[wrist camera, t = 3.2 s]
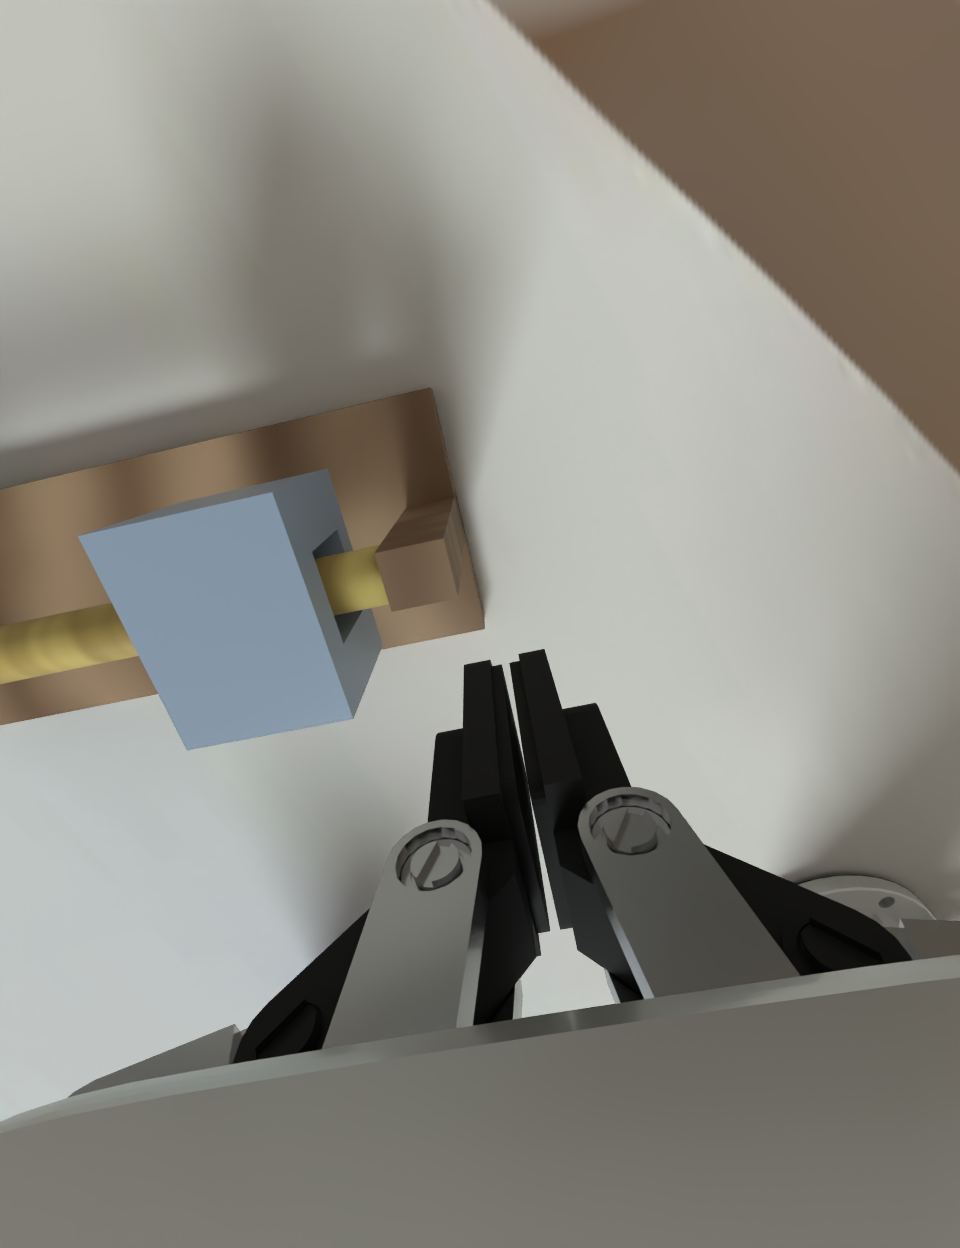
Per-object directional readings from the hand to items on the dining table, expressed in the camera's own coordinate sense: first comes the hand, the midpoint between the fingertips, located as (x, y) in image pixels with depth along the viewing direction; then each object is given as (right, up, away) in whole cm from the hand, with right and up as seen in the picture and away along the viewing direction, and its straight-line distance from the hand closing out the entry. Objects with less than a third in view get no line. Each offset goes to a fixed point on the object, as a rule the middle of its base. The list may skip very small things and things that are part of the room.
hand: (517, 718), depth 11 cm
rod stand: (-14, +4, +13) cm, 20 cm away
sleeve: (-7, +4, +8) cm, 11 cm away
